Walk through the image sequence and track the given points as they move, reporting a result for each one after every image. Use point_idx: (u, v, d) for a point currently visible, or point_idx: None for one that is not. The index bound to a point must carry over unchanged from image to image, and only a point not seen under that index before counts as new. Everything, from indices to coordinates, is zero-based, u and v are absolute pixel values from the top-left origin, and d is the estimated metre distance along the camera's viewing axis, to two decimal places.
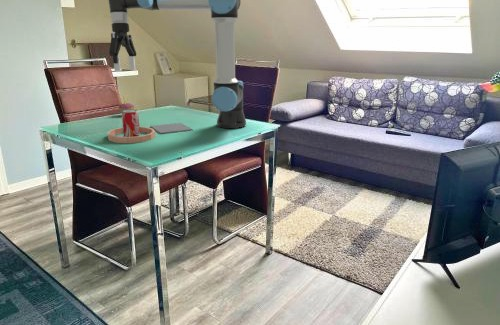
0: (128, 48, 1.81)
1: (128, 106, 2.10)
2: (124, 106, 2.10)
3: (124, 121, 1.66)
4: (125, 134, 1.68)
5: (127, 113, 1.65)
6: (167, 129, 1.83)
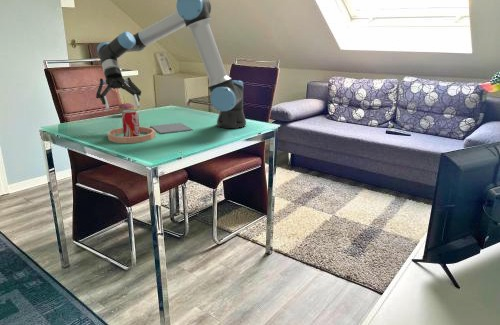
0: (127, 89, 1.78)
1: (128, 106, 2.10)
2: (124, 106, 2.10)
3: (124, 121, 1.66)
4: (125, 134, 1.68)
5: (127, 113, 1.65)
6: (167, 129, 1.83)
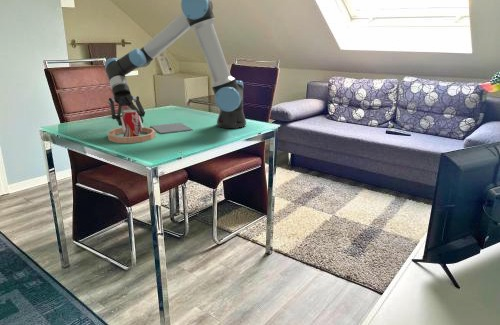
0: (132, 108, 1.72)
1: (128, 106, 2.10)
2: (124, 106, 2.10)
3: (124, 121, 1.66)
4: (125, 134, 1.68)
5: (127, 113, 1.65)
6: (167, 129, 1.83)
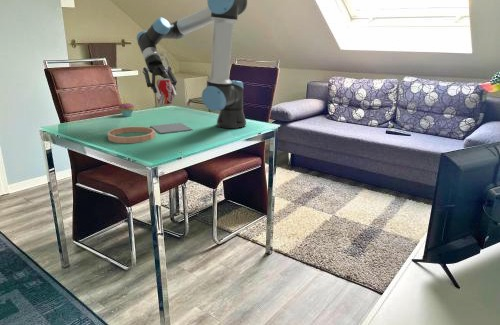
0: (165, 77, 1.83)
1: (128, 106, 2.10)
2: (124, 106, 2.10)
3: (159, 88, 1.76)
4: (159, 101, 1.79)
5: (162, 81, 1.75)
6: (167, 129, 1.83)
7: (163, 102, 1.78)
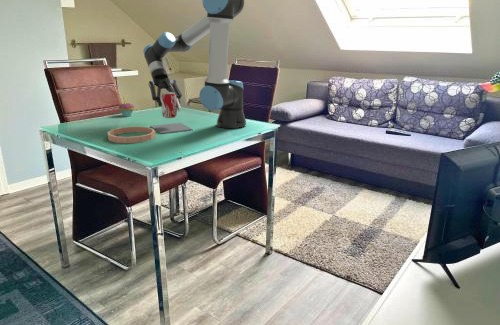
0: (170, 90, 1.87)
1: (128, 106, 2.10)
2: (124, 106, 2.10)
3: (164, 102, 1.81)
4: (164, 114, 1.83)
5: (167, 94, 1.80)
6: (167, 129, 1.83)
7: (168, 115, 1.82)
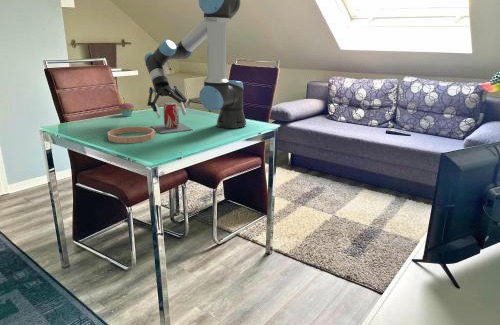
0: (174, 97, 1.89)
1: (128, 106, 2.10)
2: (124, 106, 2.10)
3: (166, 112, 1.82)
4: (166, 124, 1.84)
5: (169, 105, 1.81)
6: (167, 129, 1.83)
7: (170, 125, 1.84)
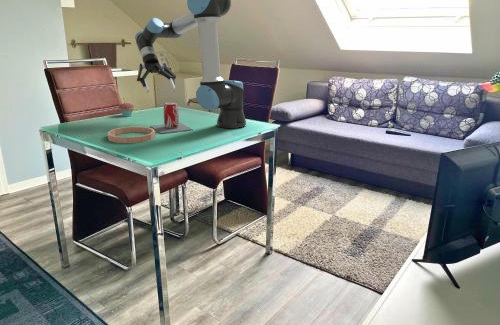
0: (163, 73, 1.96)
1: (128, 106, 2.10)
2: (124, 106, 2.10)
3: (166, 112, 1.82)
4: (166, 124, 1.84)
5: (169, 105, 1.81)
6: (167, 129, 1.83)
7: (170, 125, 1.84)
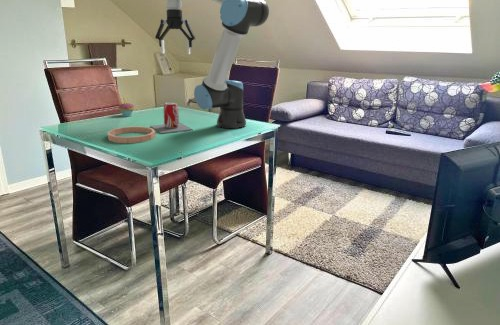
0: (183, 32, 1.91)
1: (128, 106, 2.10)
2: (124, 106, 2.10)
3: (166, 112, 1.82)
4: (166, 124, 1.84)
5: (169, 105, 1.81)
6: (167, 129, 1.83)
7: (170, 125, 1.84)
